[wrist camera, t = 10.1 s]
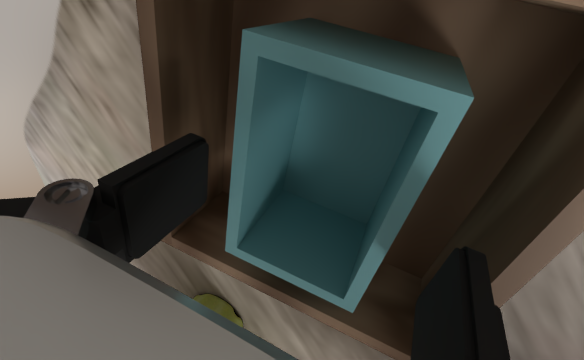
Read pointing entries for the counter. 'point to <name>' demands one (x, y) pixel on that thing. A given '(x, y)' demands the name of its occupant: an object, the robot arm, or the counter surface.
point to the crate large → (450, 168)
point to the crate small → (334, 149)
